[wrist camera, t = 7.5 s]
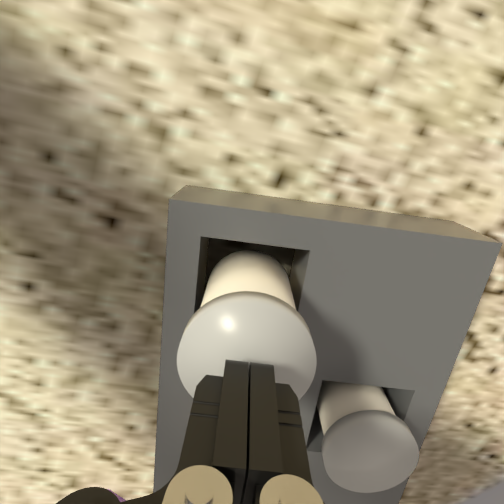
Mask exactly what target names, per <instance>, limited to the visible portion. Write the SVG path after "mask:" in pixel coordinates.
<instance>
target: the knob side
mask: <svg viewBox="0 0 504 504" xmlns="http://www.w3.org/2000/svg"><path fill="white" fill-rule="evenodd" d="M317 409H318V413H319V417H320V422H321V426H322V430H323V434H324V437H323V440H322V444H321V451H322V456H323V461H324V466H325V469H326V472H327V474H328V476H329V477H330V478H331V480H332V481H333V482H334V483H336V484H337V485H339V486H340V487H342V488H344V489H347V490H350V491H354V492H360V493H373V492H380V491H384V490H387V489H390V488H392V487H395V486H397V485H398V484H400V483H402V482H403V481H404V480H406V479H407V478H408V477H409V476H410V475H411V474H412V472H413V471H414V470H415V468H416V466H417V463H418V460H419V449H418V445H417V443H416V441H415V439H414V437H413V435H412V433H411V431H410V429H409V428H408V426H407V425H406V424H405V422H404V421H403V420H401V419H400V418H399V417H397V416H396V415H395V413H394V411H393V409H392V407H391V405H390V403H389V401H388V399H387V397H386V395H385V393H384V391H383V389H382V387H379V386H370V385H361V384H352V383H343V382H335V381H326V380H322V384H321V388H320V392H319V396H318V400H317Z"/></svg>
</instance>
